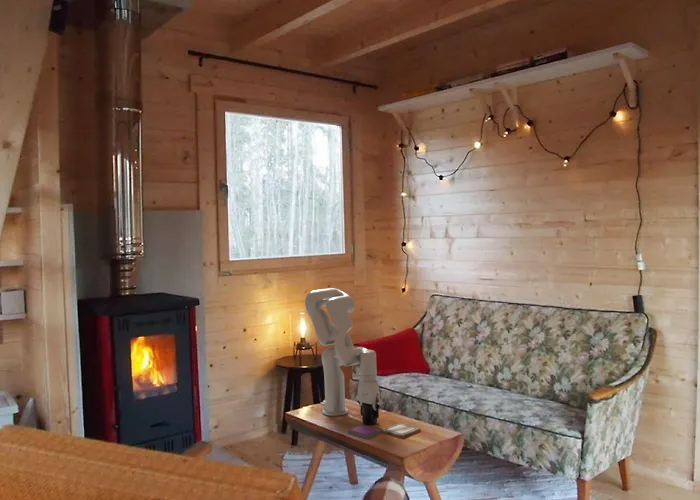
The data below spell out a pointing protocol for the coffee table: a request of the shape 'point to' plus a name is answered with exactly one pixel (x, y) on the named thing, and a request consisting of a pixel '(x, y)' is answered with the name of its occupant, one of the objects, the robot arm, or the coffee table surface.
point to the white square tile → (400, 430)
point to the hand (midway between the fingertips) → (369, 416)
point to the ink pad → (364, 432)
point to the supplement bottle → (368, 414)
